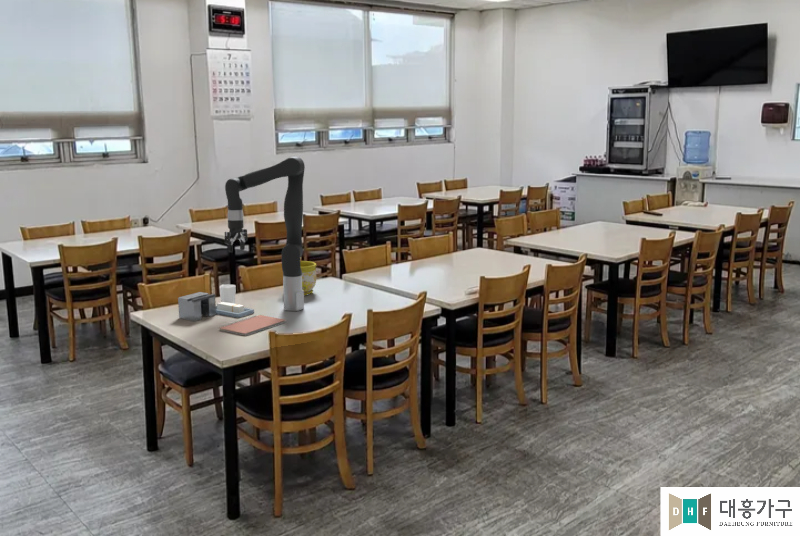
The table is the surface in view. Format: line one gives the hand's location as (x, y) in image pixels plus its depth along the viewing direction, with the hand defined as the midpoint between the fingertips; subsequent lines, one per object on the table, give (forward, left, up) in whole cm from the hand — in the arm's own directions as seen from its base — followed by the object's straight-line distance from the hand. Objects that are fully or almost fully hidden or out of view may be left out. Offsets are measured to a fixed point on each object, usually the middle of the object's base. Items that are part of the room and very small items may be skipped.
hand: (236, 251), depth 363 cm
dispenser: (+3, +25, -28) cm, 38 cm away
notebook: (-30, +24, -29) cm, 48 cm away
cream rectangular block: (-6, +11, -28) cm, 30 cm away
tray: (-6, +11, -28) cm, 31 cm away
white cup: (+6, +1, -28) cm, 29 cm away
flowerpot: (-8, -40, -28) cm, 50 cm away
